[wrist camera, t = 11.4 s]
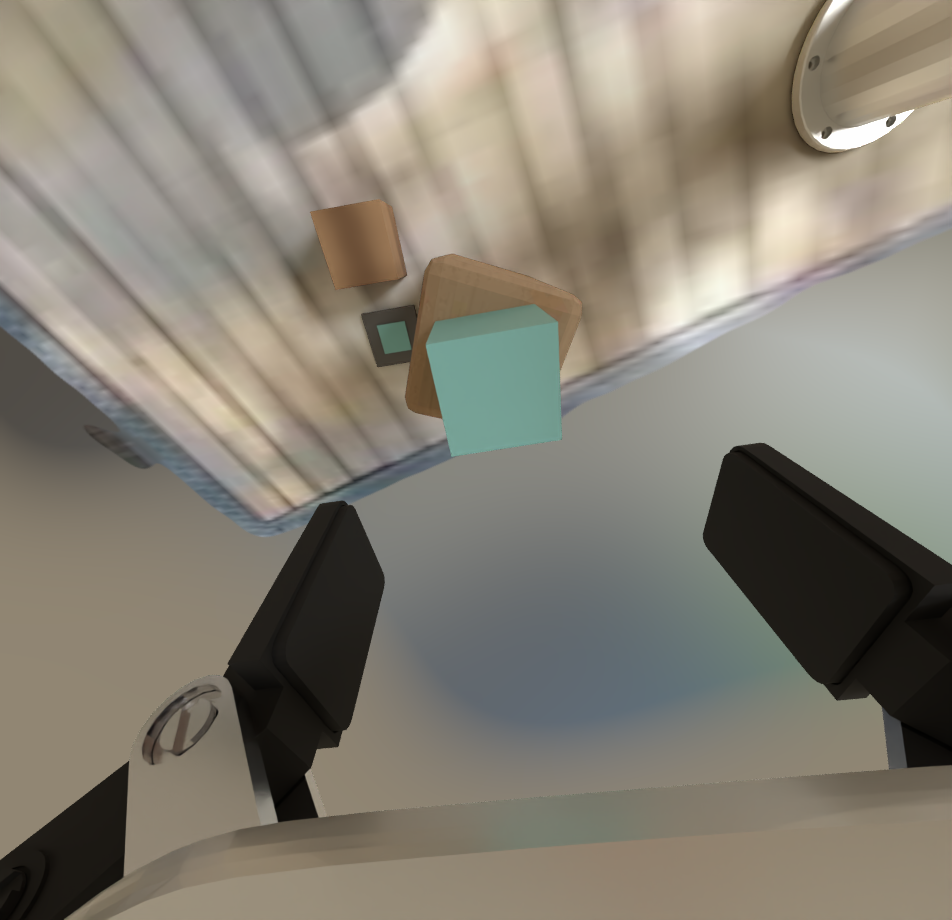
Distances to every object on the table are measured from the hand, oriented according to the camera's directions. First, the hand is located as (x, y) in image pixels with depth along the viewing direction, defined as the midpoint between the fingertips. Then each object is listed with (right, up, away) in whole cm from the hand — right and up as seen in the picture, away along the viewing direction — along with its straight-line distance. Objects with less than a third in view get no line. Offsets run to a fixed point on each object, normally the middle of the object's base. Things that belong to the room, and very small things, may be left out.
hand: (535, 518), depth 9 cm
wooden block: (-1, +18, +30) cm, 35 cm away
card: (-11, +16, +31) cm, 37 cm away
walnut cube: (-12, +24, +26) cm, 38 cm away
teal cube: (-1, +8, +13) cm, 15 cm away
